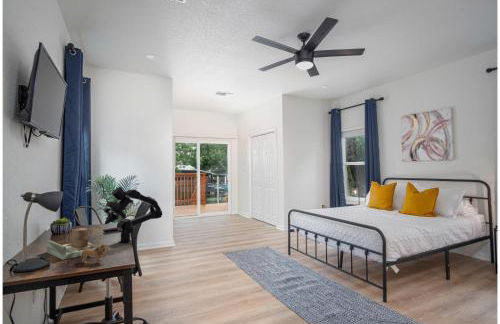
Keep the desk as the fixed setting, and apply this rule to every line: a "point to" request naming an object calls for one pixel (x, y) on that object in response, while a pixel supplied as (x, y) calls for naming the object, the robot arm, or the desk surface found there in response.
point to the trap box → (66, 250)
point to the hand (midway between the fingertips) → (105, 224)
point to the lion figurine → (95, 253)
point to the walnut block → (79, 238)
